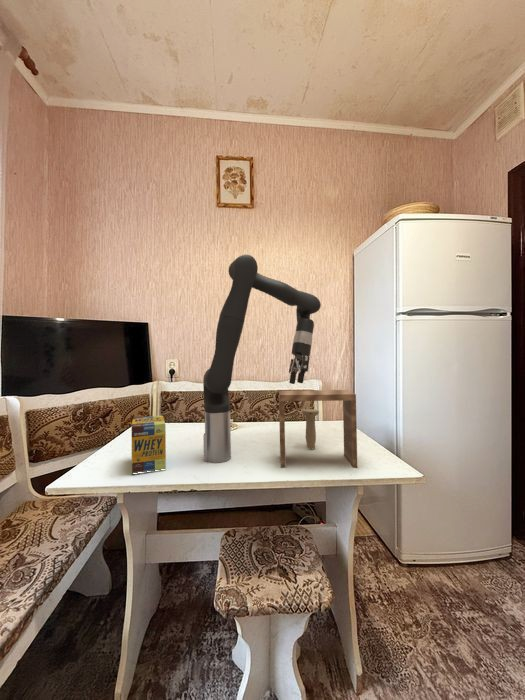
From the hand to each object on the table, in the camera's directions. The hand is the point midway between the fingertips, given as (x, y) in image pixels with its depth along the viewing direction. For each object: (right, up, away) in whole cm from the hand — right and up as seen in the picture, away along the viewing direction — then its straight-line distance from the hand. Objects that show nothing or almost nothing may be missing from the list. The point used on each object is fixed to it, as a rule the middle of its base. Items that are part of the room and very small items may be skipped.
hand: (295, 383), depth 117 cm
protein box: (-52, -27, -15) cm, 61 cm away
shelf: (+6, -26, -14) cm, 30 cm away
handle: (+6, -26, 0) cm, 27 cm away
